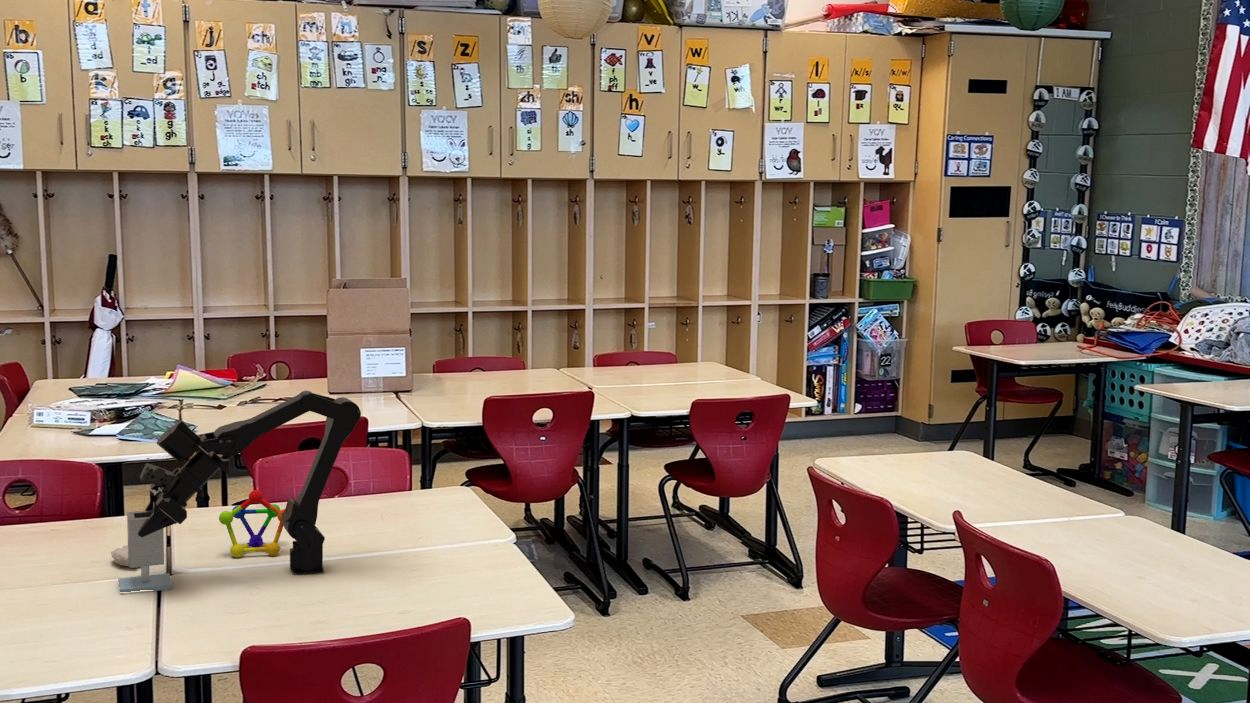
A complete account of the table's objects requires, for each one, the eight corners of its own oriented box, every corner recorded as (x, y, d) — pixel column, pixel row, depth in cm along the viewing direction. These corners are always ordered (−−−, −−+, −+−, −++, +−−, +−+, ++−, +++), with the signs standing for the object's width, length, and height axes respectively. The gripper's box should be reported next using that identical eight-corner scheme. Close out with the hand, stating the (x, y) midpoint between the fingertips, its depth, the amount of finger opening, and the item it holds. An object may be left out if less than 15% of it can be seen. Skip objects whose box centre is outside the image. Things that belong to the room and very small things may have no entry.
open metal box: (161, 555, 247) (160, 509, 246) (164, 564, 241) (163, 517, 240) (127, 558, 244) (126, 512, 243) (129, 567, 239) (128, 520, 237)
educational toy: (277, 545, 279) (284, 483, 278) (288, 560, 268) (295, 496, 267) (209, 545, 272) (216, 482, 271) (218, 561, 261) (224, 495, 260)
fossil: (125, 537, 265) (168, 541, 264) (124, 555, 265) (167, 559, 265) (99, 549, 253) (145, 553, 252) (98, 568, 253) (143, 572, 253)
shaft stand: (169, 577, 249) (169, 557, 249) (172, 589, 242) (172, 568, 242) (118, 582, 245) (117, 562, 244) (120, 594, 238) (120, 573, 237)
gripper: (160, 441, 250) (105, 496, 247) (168, 459, 234) (109, 518, 230) (199, 474, 255) (146, 529, 251) (210, 494, 238) (153, 552, 234)
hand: (138, 531), depth 242 cm, fingers closed on open metal box, 7 cm apart
